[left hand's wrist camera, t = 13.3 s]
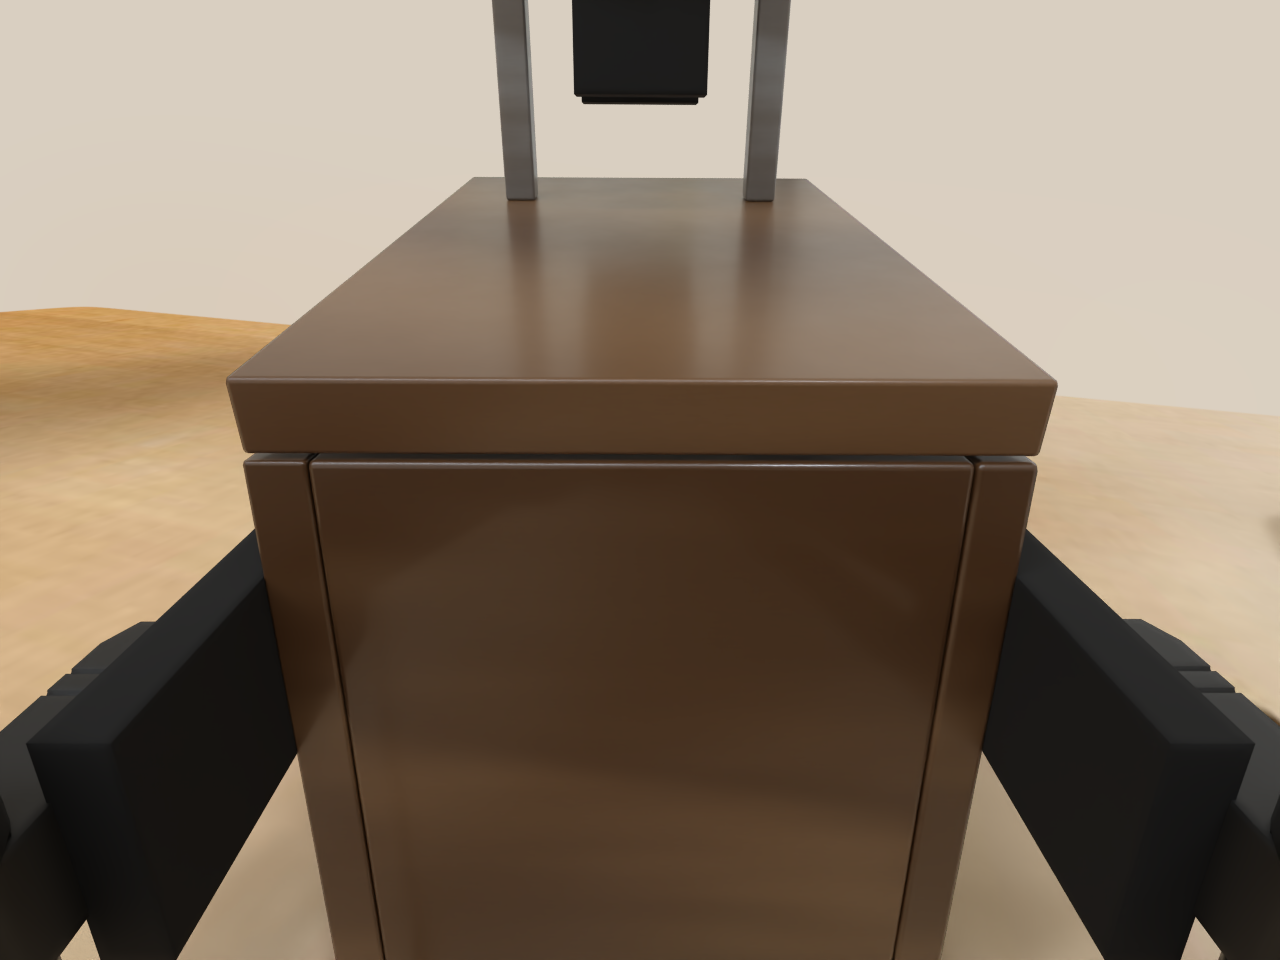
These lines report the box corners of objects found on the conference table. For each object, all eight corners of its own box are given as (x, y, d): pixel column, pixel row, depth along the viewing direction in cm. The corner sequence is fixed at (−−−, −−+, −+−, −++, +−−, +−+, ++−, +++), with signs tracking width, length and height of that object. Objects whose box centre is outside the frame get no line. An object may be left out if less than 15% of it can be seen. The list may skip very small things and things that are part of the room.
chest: (496, 588, 26) (475, 288, 23) (780, 589, 26) (803, 290, 23) (347, 1029, 13) (240, 462, 9) (929, 1029, 13) (1042, 463, 9)
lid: (475, 212, 23) (439, -183, 19) (804, 214, 23) (843, -180, 19) (242, 456, 9) (-83, -778, 5) (1041, 458, 9) (1378, -763, 5)
